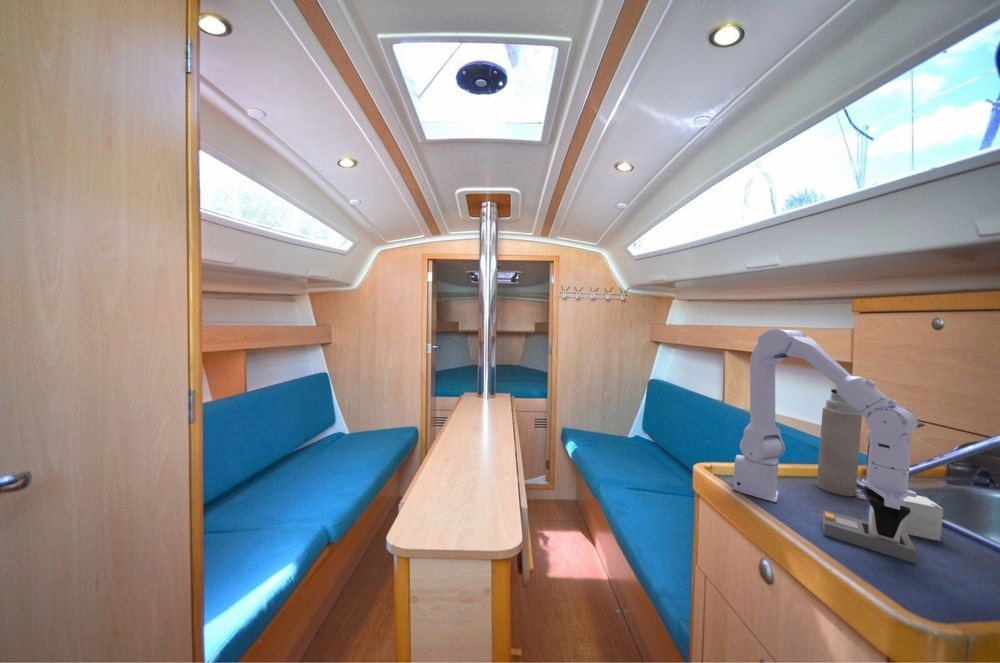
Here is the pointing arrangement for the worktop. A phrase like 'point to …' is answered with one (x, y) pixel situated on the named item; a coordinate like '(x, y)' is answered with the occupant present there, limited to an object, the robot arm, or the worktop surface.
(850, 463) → the thermos bottle
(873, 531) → the light grey rectangular block
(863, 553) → the worktop surface
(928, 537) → the skincare box
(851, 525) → the sliding tray box
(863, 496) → the smartphone
